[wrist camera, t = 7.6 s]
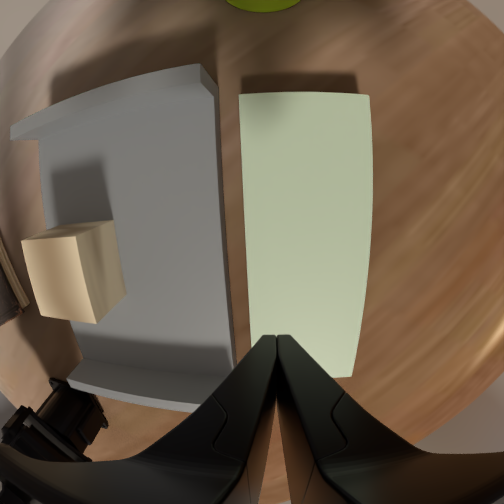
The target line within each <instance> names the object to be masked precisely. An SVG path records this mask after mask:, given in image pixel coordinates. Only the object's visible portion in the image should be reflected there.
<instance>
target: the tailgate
mask: <svg viewBox="0 0 504 504" xmlns="http://www.w3.org/2000/svg"><path fill="white" fill-rule="evenodd" d="M239 111H240V134H241V155H242V176H243V197H244V217H245V237H246V256H247V275H248V294H249V312H250V330H251V348H252V347H253V346H254V345H255V343H256V342H257V341H258V340H259V339H260V337H261V336H262V335H276V338H277V335H279V334H290V335H291V336H292V337H293V338H294V339H295V340H296V341H297V342H298V343H299V344H300V345H301V346H302V347H303V348H304V349H305V350H306V351H307V353H308V354H309V355H310V356H311V357H312V358H313V359H314V360H315V361H316V362H317V363H318V364H319V365H320V366H321V367H322V368H323V369H324V370H325V371H326V372H327V373H328V374H329V375H330V376H331V377H332V378H333V377H351V376H352V371H353V366H354V362H355V357H356V351H357V346H358V340H359V335H360V329H361V322H362V316H363V309H364V302H365V294H366V285H367V276H368V266H369V255H370V242H371V226H372V200H373V155H372V129H371V114H370V101H369V95H362V94H350V93H332V92H271V93H253V94H240V95H239Z"/></svg>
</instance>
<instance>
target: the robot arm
mask: <svg viewBox="0 0 504 504" xmlns="http://www.w3.org/2000/svg"><path fill="white" fill-rule="evenodd" d="M49 383H50V385H51V387H52V389H53V392H52V393H51V394H50V395H49V397H48V398H47V399H46V400H45V402H44V403H43V404H42V405H41V407H40V408H39V409H38V410H37V412H36V413H35V412H34V411H33V409H32V408H31V407H30V406H29V407H28V408H26V407H24V406H23V405H21V406H20V408H19V409H18V410H17V411H16V412H15V414H14V415H13V416H12V417H11V418H10V419H9V421H8V422H7V423H6V424H5V425H4V427H3V428H2V429H1V431H2V436H3V437H2V438H1V439H2V442H1V443H0V504H258V502H259V497H260V492H261V487H262V482H263V476H264V471H265V466H266V460H267V455H268V449H269V443H270V437H271V431H272V425H273V419H274V413H275V405H276V402H277V410H278V417H279V424H280V431H281V437H282V444H283V451H284V458H285V465H286V471H287V478H288V485H289V492H290V499H291V504H504V451H503V452H496V453H479V454H437V453H430V452H426V451H423V450H421V449H418V448H417V447H415V446H413V445H412V444H410V443H409V442H407V441H406V440H404V439H403V438H402V437H400V436H399V435H397V434H396V433H395V432H393V431H392V430H390V429H389V428H388V427H386V426H385V425H384V424H382V423H381V422H380V421H378V420H377V419H376V418H374V417H373V416H372V415H371V414H369V413H368V412H367V411H366V410H365V409H363V408H362V407H361V406H360V405H359V404H358V403H357V402H356V401H355V400H354V399H353V398H352V397H351V396H350V395H349V394H348V393H346V392H345V390H344V389H343V388H342V387H341V386H340V385H339V384H338V383H337V382H336V381H335V380H334V379H333V378H332V377H331V376H330V375H329V374H328V373H327V372H326V371H325V370H324V369H323V368H322V367H321V366H320V365H319V364H318V363H317V362H316V361H315V360H314V359H313V358H312V357H311V356H310V355H309V354H308V353H307V351H306V350H305V349H304V348H303V347H302V346H301V345H300V344H299V343H298V342H297V341H296V340H295V339H294V338H293V337H292V336H291V335H290V334H279V335H277V338H276V335H262V336H261V337H260V339H259V340H258V341H257V342H256V343H255V345H254V346H253V347H252V348H251V349H250V350H249V352H248V353H247V354H246V355H245V356H244V357H243V359H242V360H241V361H240V362H239V363H238V364H237V366H236V367H235V368H234V369H233V370H232V371H231V372H230V373H229V375H228V376H227V377H226V378H225V379H224V380H223V381H222V382H221V384H220V385H219V386H218V387H217V388H216V389H215V390H214V391H213V392H212V393H211V395H209V396H208V398H207V399H206V400H205V401H204V402H203V403H202V404H201V405H200V406H199V407H198V408H197V409H196V410H195V411H194V412H193V413H192V414H191V415H189V416H188V417H187V418H186V419H185V420H184V421H182V422H181V423H180V424H179V425H177V426H176V427H175V428H174V429H172V430H171V431H170V432H168V433H167V434H166V435H164V436H163V437H162V438H160V439H159V440H158V441H156V442H155V443H154V444H152V445H151V446H149V447H148V448H147V449H145V450H144V451H142V452H140V453H139V454H137V455H135V456H132V457H129V458H126V459H122V460H113V461H98V462H92V459H90V458H89V457H86V456H85V455H84V454H83V453H84V451H85V449H86V447H87V446H88V445H91V444H92V442H93V441H94V439H95V437H96V435H97V434H98V432H99V430H100V428H101V427H102V428H105V429H107V428H108V424H107V422H106V420H105V418H104V417H103V415H102V413H101V411H100V409H99V408H98V406H97V404H96V402H95V400H94V398H93V396H92V394H91V393H88V392H85V391H81V390H78V389H75V388H71V386H70V384H68V383H65V382H62V381H59V380H56V379H53V378H50V379H49ZM23 422H25V423H26V424H27V425H28V426H29V427H28V426H25V425H24V424H23Z"/></svg>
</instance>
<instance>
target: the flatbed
mask: <svg viewBox="0 0 504 504" xmlns="http://www.w3.org/2000/svg"><path fill="white" fill-rule="evenodd" d="M10 140H39V166H40V180H41V191H42V200H43V208H44V216H45V222H46V228H47V230H48V229H51V228H53V227H56V226H59V225H66V224H76V223H86V222H96V221H107V220H114V226H115V233H116V240H117V246H118V252H119V258H120V263H121V268H122V273H123V278H124V283H125V288H126V293H127V294H126V295H125V296H124V297H123V298H122V299H121V300H120V301H119V302H118V303H117V304H116V305H115V306H114V307H113V308H112V309H111V310H110V311H109V312H108V313H107V314H106V315H105V316H104V317H103V318H102V319H101V320H100V321H99V322H98V323H97V324H93V323H85V322H78V321H72V320H70V323H71V326H72V329H73V332H74V334H75V337H76V340H77V343H78V345H79V348H80V350H81V353H82V355H83V359H82V360H81V362H80V363H79V364H78V365H77V366H76V367H75V369H74V370H73V371H72V372H71V373H70V375H69V376H68V377H67V378H66V379H67V381H68V383H69V384H70V386H71V388H75V389H78V390H81V391H85V392H88V393H92V394H96V395H99V396H103V397H107V398H111V399H116V400H120V401H125V402H129V403H134V404H139V405H144V406H150V407H156V408H162V409H168V410H175V411H183V412H191V413H193V412H194V411H195V410H196V409H197V408H198V407H199V406H200V405H201V404H202V403H203V402H204V401H205V400H206V399H207V398H208V396H209V395H211V393H212V392H213V391H214V390H215V389H216V388H217V387H218V386H219V385H220V384H221V382H222V381H223V380H224V379H225V378H226V377H227V376H228V375H229V373H230V372H231V371H232V370H233V369H234V368H235V367H236V366H237V361H236V351H235V340H234V329H233V318H232V307H231V295H230V282H229V269H228V256H227V242H226V228H225V212H224V196H223V179H222V160H221V139H220V116H219V88H218V86H217V85H216V83H215V82H214V81H213V79H212V78H211V77H210V75H209V74H208V73H207V71H206V70H205V69H204V68H203V66H202V65H201V64H200V63H197V64H191V65H185V66H179V67H174V68H169V69H164V70H159V71H155V72H151V73H146V74H142V75H138V76H135V77H131V78H127V79H124V80H120V81H117V82H114V83H110V84H107V85H104V86H101V87H98V88H95V89H92V90H89V91H86V92H84V93H81V94H78V95H76V96H73V97H71V98H68V99H66V100H63V101H61V102H59V103H56V104H54V105H52V106H49V107H47V108H45V109H43V110H41V111H39V112H36V113H34V114H32V115H30V116H28V117H26V118H24V119H23V120H21V121H19V122H17V123H15V124H13V125H11V126H10Z"/></svg>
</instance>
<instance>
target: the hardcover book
mask: <svg viewBox="0 0 504 504" xmlns="http://www.w3.org/2000/svg"><path fill="white" fill-rule="evenodd" d="M29 303H30V302H29V300H28V298H27V296H26V294H25V292H24V290H23V288H22V286H21V284H20V282H19V280H18V278H17V276H16V274H15V271H14V269H13V267H12V265H11V262H10V260H9V258H8V255H7V253H6V250H5V248H4V245H3V243H2V240H1V237H0V326H1V325H3V324H5V323H7V322H8V321H10V320H12V319H14V318H15V317H17V316H19V315H21V314H22V313H24V310H23V308H24V307H26V306H27V305H28V304H29Z"/></svg>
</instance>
